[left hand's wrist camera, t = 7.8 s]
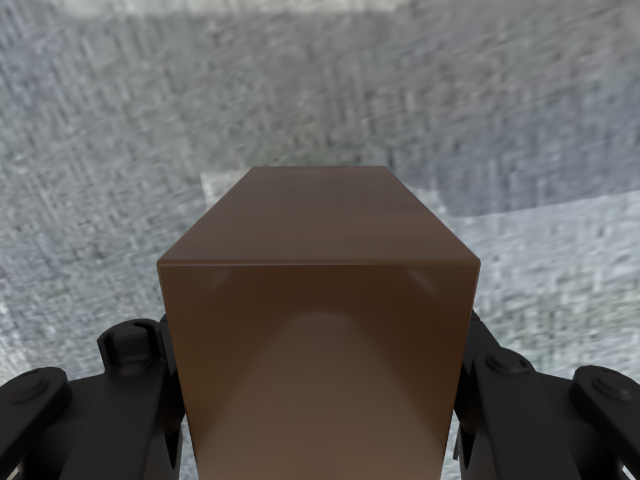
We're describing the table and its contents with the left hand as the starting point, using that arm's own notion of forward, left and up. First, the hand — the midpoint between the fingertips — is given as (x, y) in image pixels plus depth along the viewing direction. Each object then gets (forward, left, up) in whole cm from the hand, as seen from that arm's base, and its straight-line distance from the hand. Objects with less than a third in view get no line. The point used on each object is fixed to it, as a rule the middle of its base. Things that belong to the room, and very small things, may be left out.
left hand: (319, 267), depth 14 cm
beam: (+18, +13, -1) cm, 23 cm away
